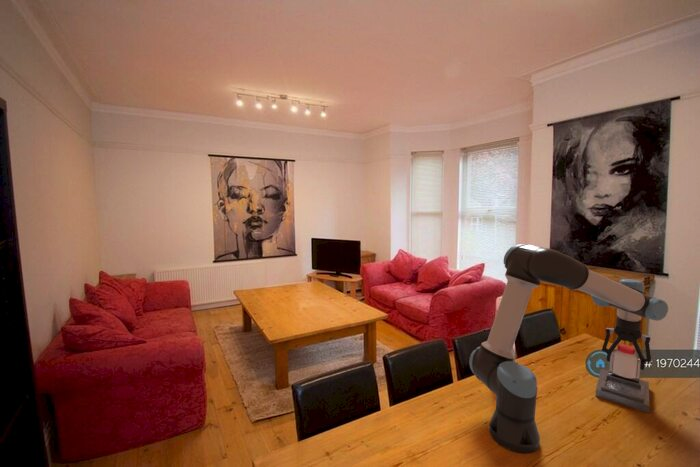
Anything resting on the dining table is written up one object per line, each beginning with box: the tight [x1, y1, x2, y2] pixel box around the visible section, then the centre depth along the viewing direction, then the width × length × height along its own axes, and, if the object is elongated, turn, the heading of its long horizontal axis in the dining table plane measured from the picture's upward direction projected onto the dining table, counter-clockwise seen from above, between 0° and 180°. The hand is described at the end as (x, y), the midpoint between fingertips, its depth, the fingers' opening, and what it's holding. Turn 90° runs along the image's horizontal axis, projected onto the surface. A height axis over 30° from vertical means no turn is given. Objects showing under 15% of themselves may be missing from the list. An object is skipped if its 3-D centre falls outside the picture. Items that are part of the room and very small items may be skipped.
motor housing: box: [595, 365, 650, 414], centre depth 135 cm, size 22×16×10 cm
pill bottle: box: [612, 343, 639, 378], centre depth 132 cm, size 8×8×11 cm
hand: (624, 372), depth 132 cm, fingers closed on pill bottle, 8 cm apart
